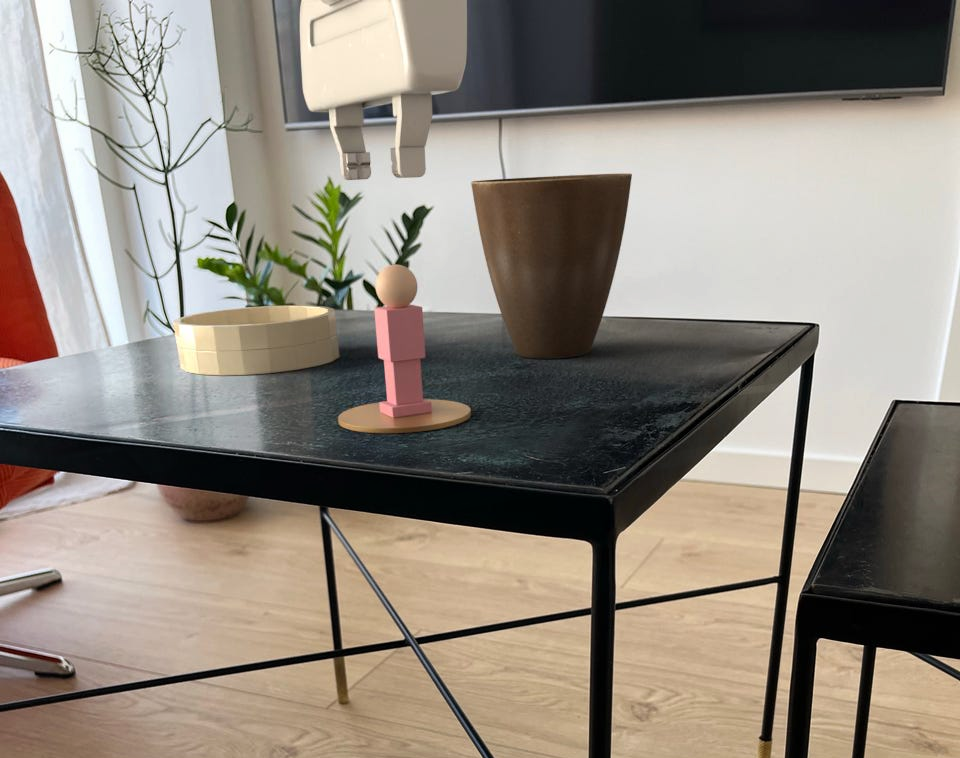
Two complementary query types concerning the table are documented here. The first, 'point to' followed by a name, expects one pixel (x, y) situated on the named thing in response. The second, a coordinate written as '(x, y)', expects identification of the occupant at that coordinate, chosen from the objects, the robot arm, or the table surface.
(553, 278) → the flower pot
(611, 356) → the table surface
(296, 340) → the basin
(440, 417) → the mat
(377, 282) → the doll
